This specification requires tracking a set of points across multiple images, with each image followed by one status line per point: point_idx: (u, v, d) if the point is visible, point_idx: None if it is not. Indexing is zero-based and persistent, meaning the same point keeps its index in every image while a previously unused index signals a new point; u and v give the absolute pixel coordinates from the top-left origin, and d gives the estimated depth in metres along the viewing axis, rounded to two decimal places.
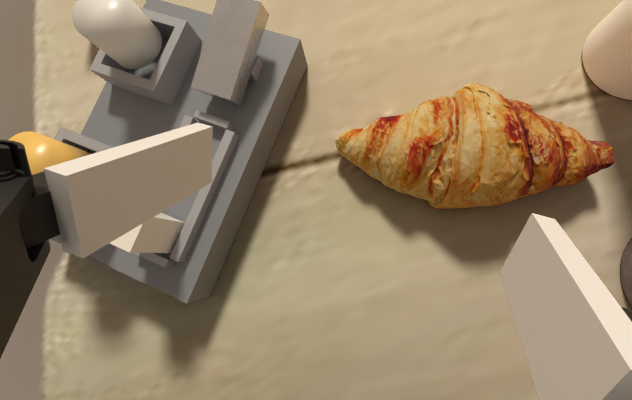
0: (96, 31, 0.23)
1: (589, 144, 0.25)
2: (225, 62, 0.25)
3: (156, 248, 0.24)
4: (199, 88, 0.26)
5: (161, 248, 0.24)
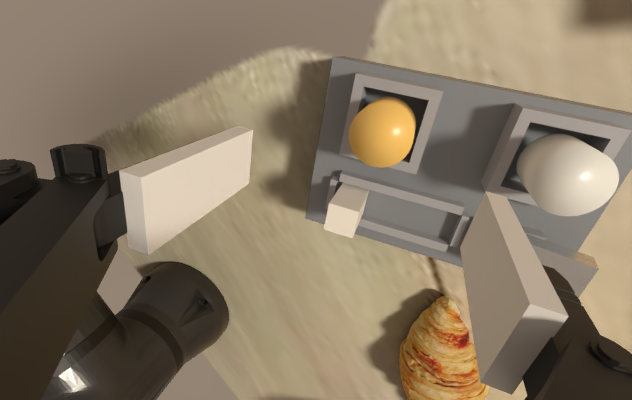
0: (539, 185, 0.20)
1: None
2: None
3: None
4: None
5: None
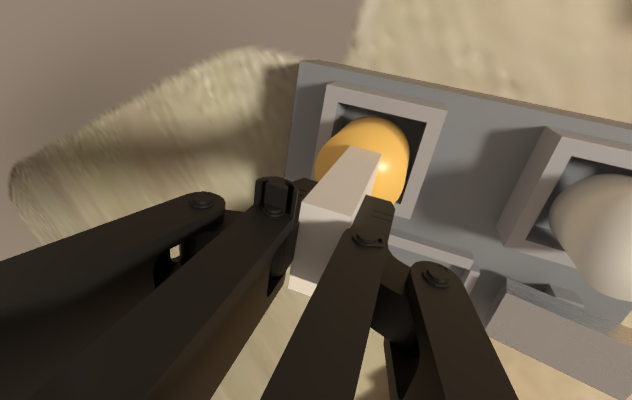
0: (592, 257, 0.14)
1: None
2: (536, 340, 0.20)
3: None
4: (502, 303, 0.20)
5: None
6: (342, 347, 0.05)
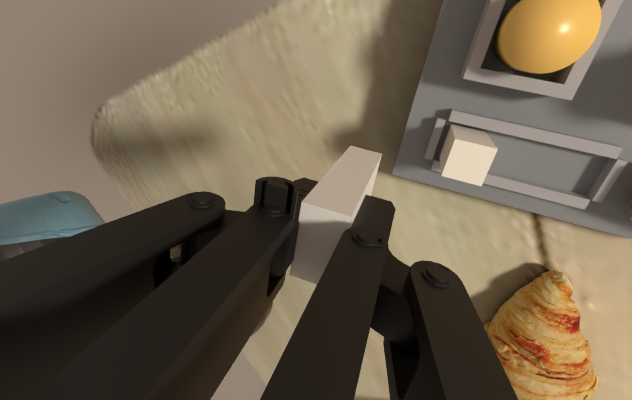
0: None
1: None
2: None
3: None
4: None
5: None
6: (342, 347, 0.05)
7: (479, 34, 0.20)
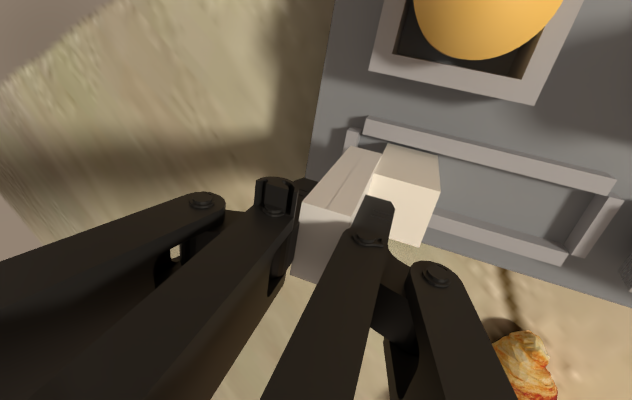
0: None
1: None
2: None
3: None
4: None
5: None
6: (342, 347, 0.05)
7: None
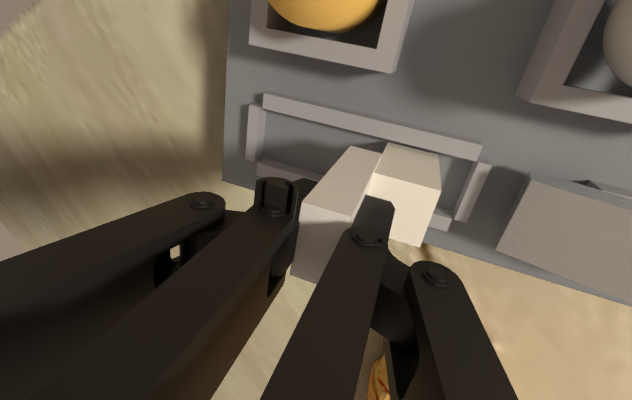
0: None
1: None
2: (574, 250, 0.14)
3: None
4: (525, 197, 0.14)
5: None
6: (342, 348, 0.05)
7: None
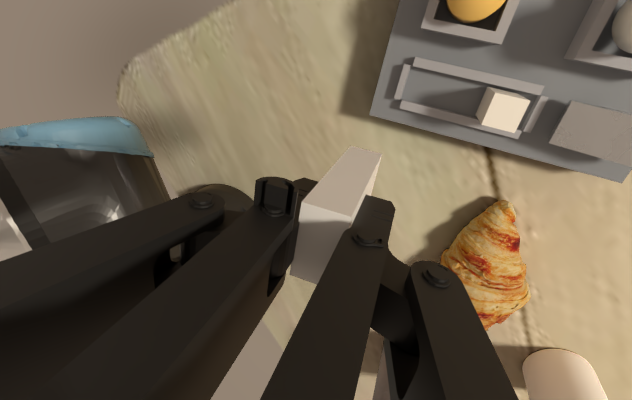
0: None
1: None
2: (592, 138, 0.26)
3: None
4: (567, 111, 0.27)
5: None
6: (342, 348, 0.05)
7: None
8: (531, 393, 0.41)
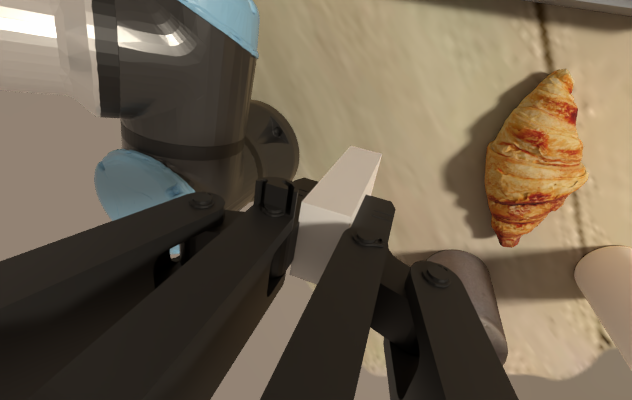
0: None
1: (517, 236, 0.40)
2: None
3: None
4: None
5: None
6: (342, 348, 0.05)
7: None
8: (590, 290, 0.38)
